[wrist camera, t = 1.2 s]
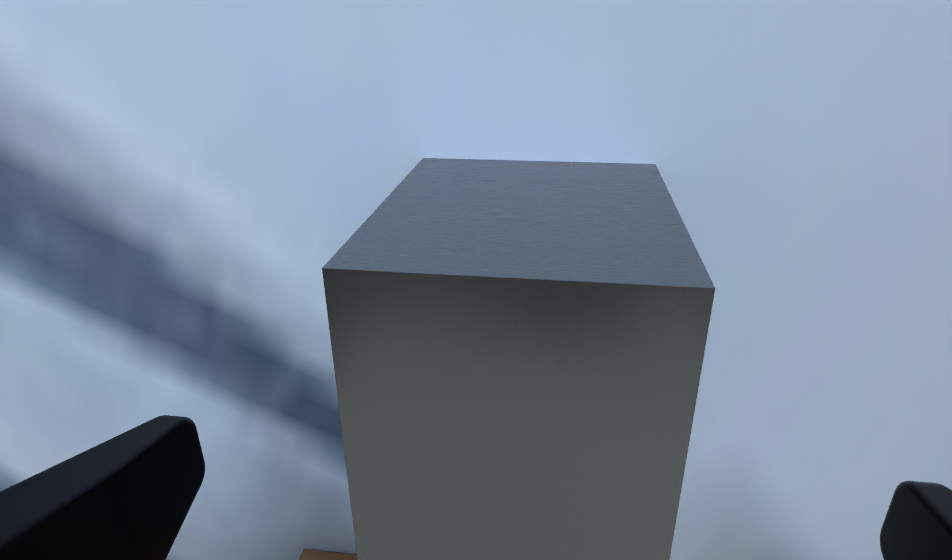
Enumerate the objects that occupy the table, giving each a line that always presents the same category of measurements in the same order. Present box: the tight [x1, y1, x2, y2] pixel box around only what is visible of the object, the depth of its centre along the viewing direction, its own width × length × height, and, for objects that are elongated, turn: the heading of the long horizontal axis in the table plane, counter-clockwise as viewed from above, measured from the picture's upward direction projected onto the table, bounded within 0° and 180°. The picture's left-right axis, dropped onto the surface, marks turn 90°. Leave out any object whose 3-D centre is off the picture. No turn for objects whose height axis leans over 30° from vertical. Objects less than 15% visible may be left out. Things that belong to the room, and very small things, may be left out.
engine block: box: [322, 158, 715, 560], centre depth 10 cm, size 4×6×5 cm, turn 0°
